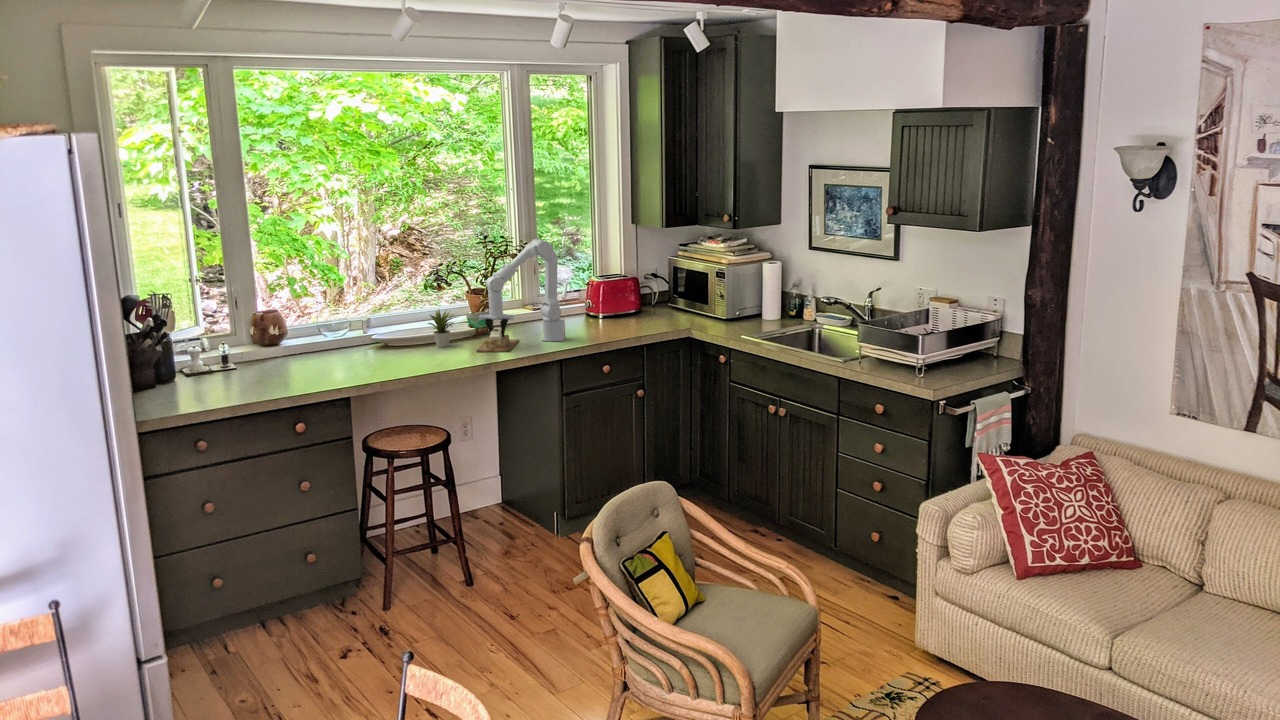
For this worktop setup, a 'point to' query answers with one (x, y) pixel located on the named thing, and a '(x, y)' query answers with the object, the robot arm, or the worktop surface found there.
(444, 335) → the house plant
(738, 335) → the worktop surface
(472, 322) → the food container
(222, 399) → the worktop surface
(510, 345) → the chassis board
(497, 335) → the servo block
